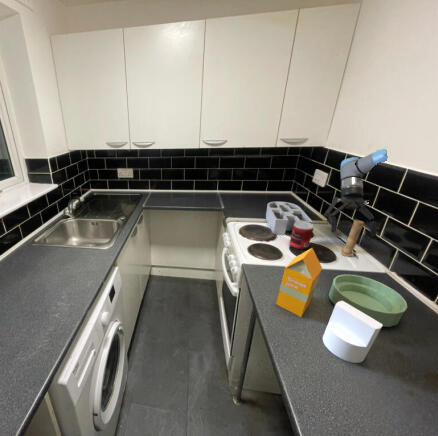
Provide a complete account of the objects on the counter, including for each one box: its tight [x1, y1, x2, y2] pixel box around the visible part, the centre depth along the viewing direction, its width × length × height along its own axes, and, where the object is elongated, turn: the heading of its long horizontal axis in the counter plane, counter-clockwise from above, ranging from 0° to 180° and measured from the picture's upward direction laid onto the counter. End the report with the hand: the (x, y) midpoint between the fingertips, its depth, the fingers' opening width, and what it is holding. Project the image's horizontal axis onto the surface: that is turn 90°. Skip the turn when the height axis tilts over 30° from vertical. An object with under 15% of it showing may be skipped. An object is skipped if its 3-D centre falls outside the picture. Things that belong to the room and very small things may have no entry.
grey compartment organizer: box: [265, 201, 314, 236], centre depth 128 cm, size 17×28×9 cm, turn 165°
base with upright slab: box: [322, 301, 384, 364], centre depth 60 cm, size 9×9×12 cm
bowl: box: [328, 274, 408, 328], centre depth 73 cm, size 17×17×6 cm
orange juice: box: [275, 247, 323, 318], centre depth 72 cm, size 8×9×20 cm
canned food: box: [289, 221, 315, 250], centre depth 107 cm, size 8×8×11 cm
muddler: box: [340, 219, 365, 258], centre depth 97 cm, size 4×4×16 cm
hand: (352, 233), depth 98 cm, fingers open, 13 cm apart
